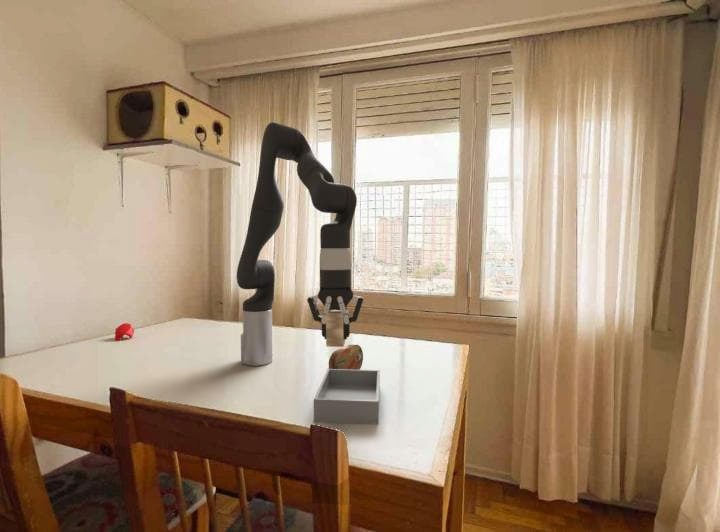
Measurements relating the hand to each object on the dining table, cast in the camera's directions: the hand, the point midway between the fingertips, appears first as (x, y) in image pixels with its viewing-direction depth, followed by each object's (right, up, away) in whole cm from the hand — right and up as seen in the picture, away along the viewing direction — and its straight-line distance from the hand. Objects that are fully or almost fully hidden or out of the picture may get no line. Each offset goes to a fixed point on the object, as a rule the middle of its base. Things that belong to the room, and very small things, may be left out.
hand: (336, 338), depth 91 cm
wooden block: (0, -1, 0) cm, 1 cm away
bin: (+3, -16, 0) cm, 16 cm away
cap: (-90, -12, +62) cm, 110 cm away
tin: (+2, -15, +21) cm, 26 cm away
